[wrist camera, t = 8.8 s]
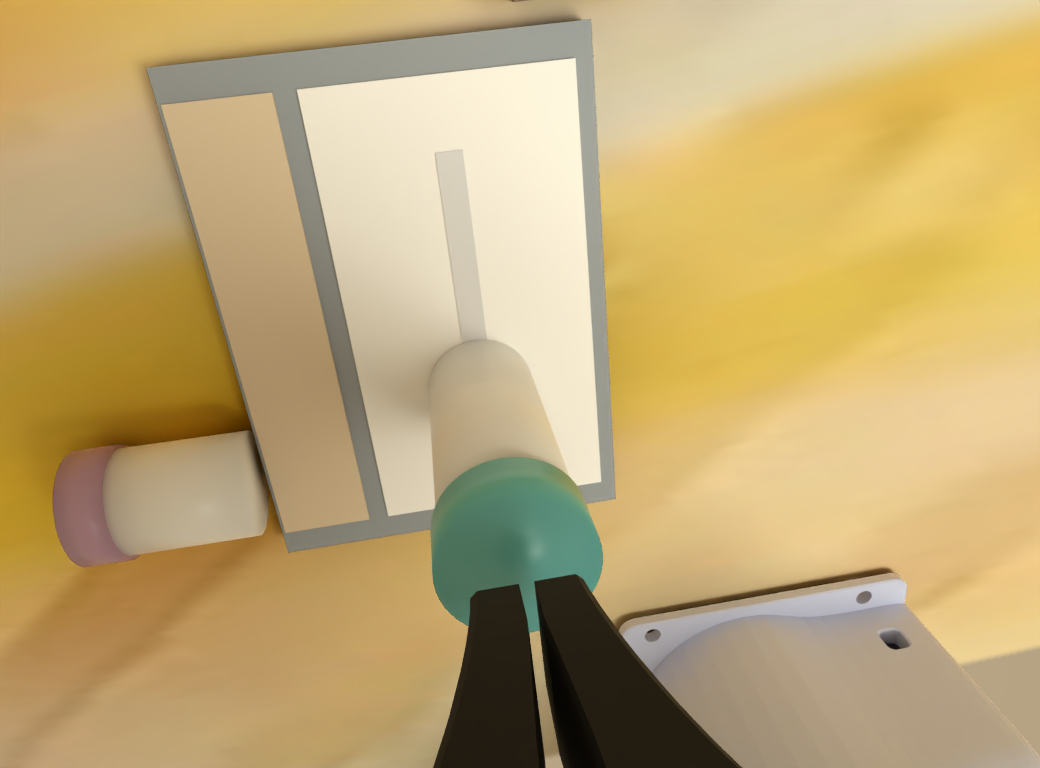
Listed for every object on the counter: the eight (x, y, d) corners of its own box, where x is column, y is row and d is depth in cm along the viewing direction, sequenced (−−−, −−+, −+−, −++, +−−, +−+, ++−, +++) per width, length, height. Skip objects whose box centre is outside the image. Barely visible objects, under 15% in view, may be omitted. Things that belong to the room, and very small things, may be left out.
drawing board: (582, 20, 16) (592, 19, 15) (608, 483, 21) (617, 501, 20) (158, 66, 15) (144, 68, 14) (292, 534, 20) (287, 555, 20)
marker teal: (531, 327, 18) (598, 482, 11) (541, 428, 19) (606, 618, 13) (416, 344, 18) (419, 511, 11) (433, 445, 19) (445, 647, 12)
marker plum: (234, 415, 17) (52, 440, 17) (242, 537, 16) (53, 566, 16) (264, 437, 20) (108, 459, 19) (273, 542, 19) (111, 567, 19)
